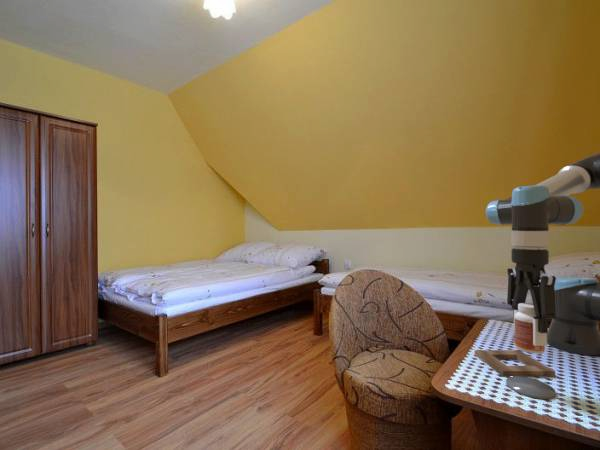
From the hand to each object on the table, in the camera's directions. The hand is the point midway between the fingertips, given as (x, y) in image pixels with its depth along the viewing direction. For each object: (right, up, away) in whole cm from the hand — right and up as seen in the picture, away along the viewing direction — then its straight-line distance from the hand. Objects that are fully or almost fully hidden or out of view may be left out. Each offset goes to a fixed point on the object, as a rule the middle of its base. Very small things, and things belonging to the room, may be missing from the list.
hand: (529, 339), depth 78 cm
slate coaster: (0, -12, 0) cm, 12 cm away
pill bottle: (0, -3, 0) cm, 3 cm away
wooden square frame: (+4, -12, +13) cm, 18 cm away
